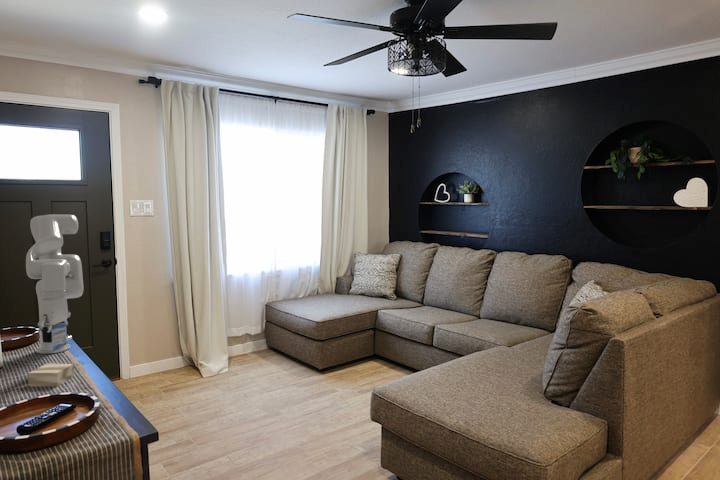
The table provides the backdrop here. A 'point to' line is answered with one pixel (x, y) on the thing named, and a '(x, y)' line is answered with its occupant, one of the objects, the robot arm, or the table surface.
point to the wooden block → (51, 375)
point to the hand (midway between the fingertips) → (55, 338)
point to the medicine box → (56, 337)
